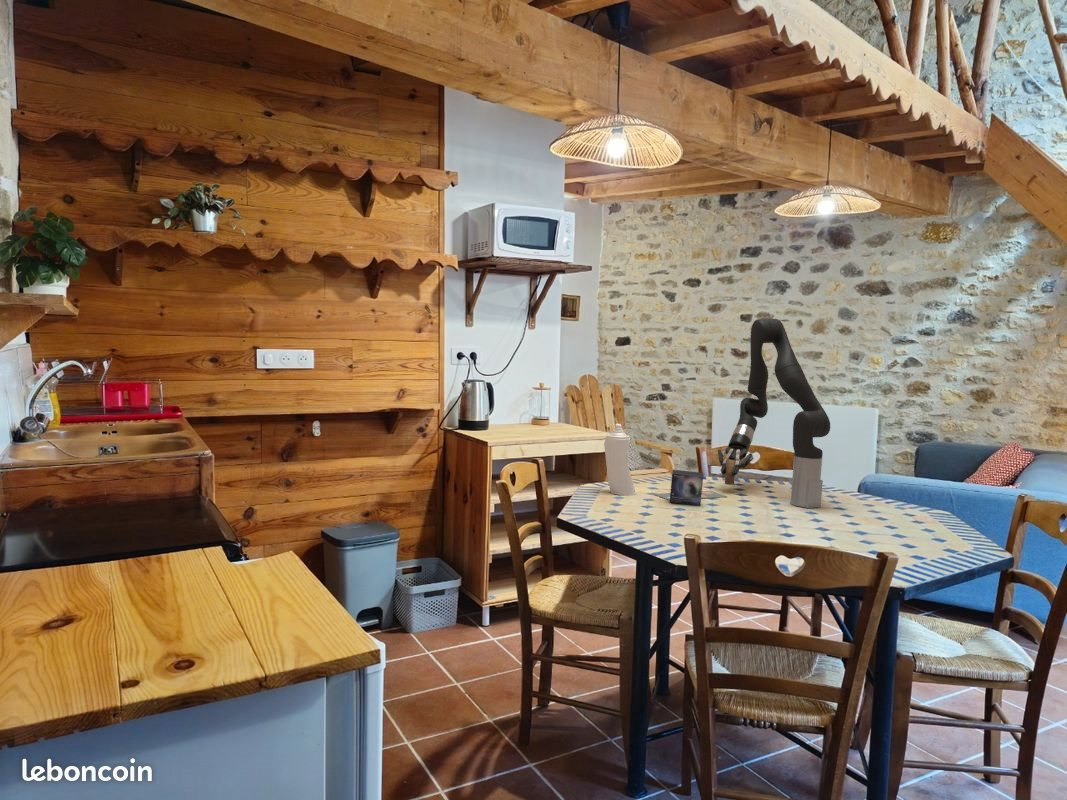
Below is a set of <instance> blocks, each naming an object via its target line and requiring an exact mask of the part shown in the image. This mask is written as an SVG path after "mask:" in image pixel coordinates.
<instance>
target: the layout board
mask: <svg viewBox="0 0 1067 800" xmlns="http://www.w3.org/2000/svg"><path fill="white" fill-rule="evenodd" d="M653 496H656V497H658V496H659V498H662V499H663V498H664V500H665V501H668V500H669V501H668V502H670V492H666V493H664V492H663V493H653ZM720 497H724V498H728V496H727V495H724V494H721V493H718V492H716V491H712V490H702V495H701V500H705V499H707V498H708V499H721V498H720Z"/></svg>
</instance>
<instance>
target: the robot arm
mask: <svg viewBox="0 0 1067 800" xmlns="http://www.w3.org/2000/svg"><path fill="white" fill-rule="evenodd" d="M764 344H773V346H774V348H775V350H776V353H777V356H776V361H775V364H774V374H775V377H776V379H777V382H778V384H779V386H780V388H781V389H782V391H783V392H785V393H786V395H787V396H789V397H790V398H791V399H792V400H794V402H796V403H797V404H798V405H799V407H800V408H801V409H802V411H799V412H797V414H796V415H795V416H794V419H793V424H792V448H793V452H794V453H793V467H792V478H791V490H790V491H791V494H790V495H791V496H790V504H791V505H792V506H795V507H800V508H806V509H812V508H815V509H817V508H822V496H823V480H822V479H821V478H822V477H821V476H822V467H823V465H822V464H823V450H822V449H821V448H819V447H817V446H815V444H814V438H823V437H827V436H828V434H829V433H830V431H831V421H830V418H829V416H828V414H827V412H826V411H825V409H824V408H823V406H822V405H821V403H820V401H819V400H818V398H817V397H816V395H815V393H814V391H813V389H812V388H811V385H810V383H809V382H808V380H807V378H806V374H805V372H804V371H803V369H802V366H801V365H800V363H799V360H798V359H797V356H796V354H795V352H794V350H793V348H792V345H791V343H790V340H789V337H788V334H787V331H786V328H785V326H784V324H783V323H782V321H781V320H780V319H777V318H758V319H756V320H754V321H753V322H752V325H751V327H750V348H749V349H750V370H749V371H750V372H749V376H748V383H747V384H748V385H747V392H748V393H749V394H751V395H753V396H755V397H757V399H756V398H753V397H744V398H743V399H742V400H741V401H740V404H739V407H740V408H739V418H738V422H737V424H736V427H735V428H734V430H733V433H732V434H731V437H730V439H729V443H728V445H727V447H726V448H725V450H721V449H718V450H717V453H718V455H717V456H718V462H719V464H720V466H721V468H720V472H721V475H723V476H725V469H726V460H728V459H730V460H735V465H734V468H733V470H732V476H735V477H736V475H738V472H739V470H740V469H745V468H746V467H747V466H748V465H749V464H750V463H751V462H752V461H753V460H754V456H753V453H752V452H750V453H749V449H750V446H751V444H752V442H753V440H754V435H755V432H756V429H757V427H758V420H757V418H759V419H763V418H764V417H765V416H767V413H768V412H769V411H768V410H769V405H768V400H767V388H768V381H769V369H768V367H767V365H766V362H765V359H764V357H763V352H762V351H763V345H764ZM725 455H726V456H725ZM723 457H725V458H723Z"/></svg>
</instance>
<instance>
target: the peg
mask: <svg viewBox="0 0 1067 800" xmlns="http://www.w3.org/2000/svg"><path fill="white" fill-rule="evenodd" d="M734 465H736V461H735V460H730V459H728V460H726V469H725V475H724V485H729V486H733V485H735V477H736V475H735V476H732V470H733V468H734Z"/></svg>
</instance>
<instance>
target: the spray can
mask: <svg viewBox="0 0 1067 800" xmlns="http://www.w3.org/2000/svg"><path fill="white" fill-rule="evenodd" d="M604 439H605V440H604V442H603V443H604V444H603V445H604V447H603V448H604V454H605V462H606V463H605V464H606V465H605V466H606V472H607V473H606V474H607V482H608V487H609V489H610V493H611V494H614V495H617V496H618V495H619V496H625V497H627V496H635V495H637V493H636V488H635V485H634V481H633V478H632V475H631V471H630V466H629V458H630V456H629V455H630V454H629V452H630V444H631V443H630V442H631V436H630V435H628V434H626V433H625V431H624V429H623V427H622V424H621V423H615V426H614V429H612V432H610V433H609V434H608V433H607V434H606V435H605V438H604Z"/></svg>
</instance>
